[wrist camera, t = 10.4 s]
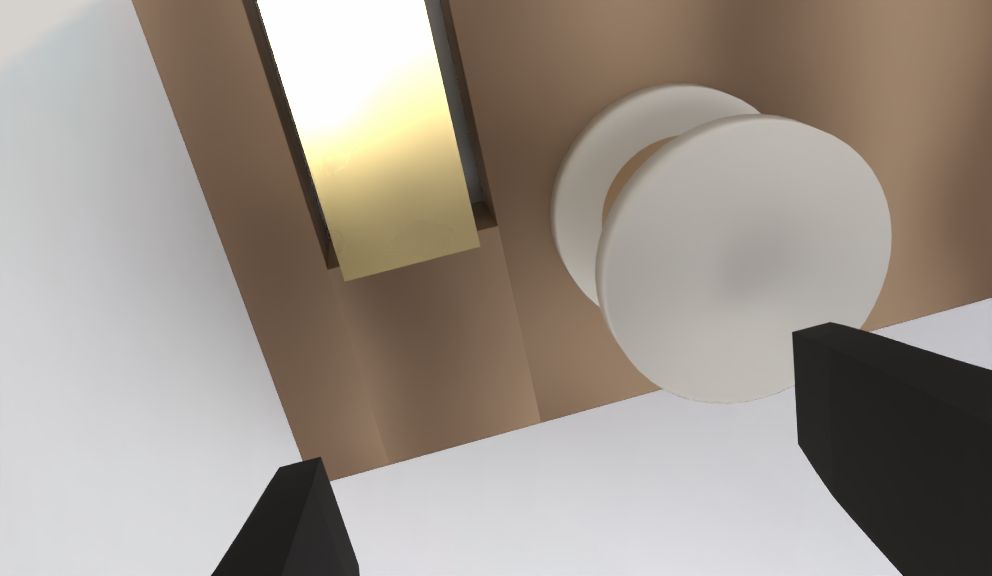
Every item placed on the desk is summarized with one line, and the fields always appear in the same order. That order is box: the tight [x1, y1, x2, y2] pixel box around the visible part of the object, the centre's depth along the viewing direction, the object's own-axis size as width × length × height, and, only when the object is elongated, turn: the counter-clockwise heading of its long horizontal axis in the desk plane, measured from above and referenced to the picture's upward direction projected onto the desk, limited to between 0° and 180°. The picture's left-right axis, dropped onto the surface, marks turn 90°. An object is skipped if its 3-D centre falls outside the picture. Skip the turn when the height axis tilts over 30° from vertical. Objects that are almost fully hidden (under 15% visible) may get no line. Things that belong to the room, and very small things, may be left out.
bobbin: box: [550, 83, 892, 404], centre depth 17 cm, size 6×6×4 cm
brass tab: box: [257, 0, 481, 281], centre depth 16 cm, size 2×5×6 cm, turn 12°
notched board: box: [132, 0, 992, 481], centre depth 20 cm, size 20×12×2 cm, turn 102°
